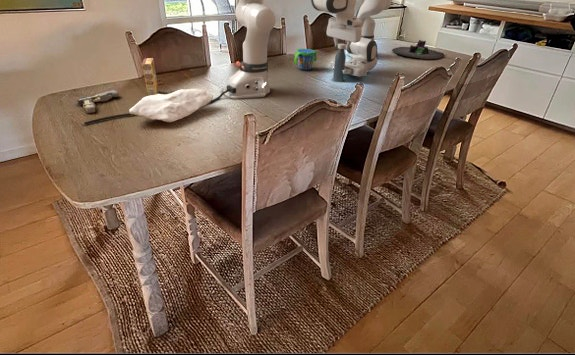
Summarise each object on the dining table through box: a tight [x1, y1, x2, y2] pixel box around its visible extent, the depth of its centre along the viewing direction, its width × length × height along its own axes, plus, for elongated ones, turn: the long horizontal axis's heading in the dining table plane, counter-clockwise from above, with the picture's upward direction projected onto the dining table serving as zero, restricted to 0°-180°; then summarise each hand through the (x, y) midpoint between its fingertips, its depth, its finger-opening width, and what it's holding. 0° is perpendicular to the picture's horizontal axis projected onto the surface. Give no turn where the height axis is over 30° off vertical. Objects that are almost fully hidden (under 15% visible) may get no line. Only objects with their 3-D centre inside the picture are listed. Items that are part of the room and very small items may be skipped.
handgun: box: [76, 89, 120, 114], centre depth 155 cm, size 3×18×15 cm
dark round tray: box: [391, 39, 445, 60], centre depth 250 cm, size 35×35×9 cm
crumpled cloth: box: [128, 88, 214, 123], centre depth 147 cm, size 24×35×9 cm
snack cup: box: [293, 48, 318, 71], centre depth 208 cm, size 16×10×10 cm
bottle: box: [332, 48, 347, 83], centre depth 191 cm, size 6×6×18 cm
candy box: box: [141, 57, 160, 96], centre depth 163 cm, size 9×4×15 cm, turn 13°
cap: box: [337, 43, 346, 50], centre depth 186 cm, size 4×4×2 cm
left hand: (341, 48), depth 187 cm, fingers open, 5 cm apart
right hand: (338, 70), depth 192 cm, fingers closed on bottle, 5 cm apart
